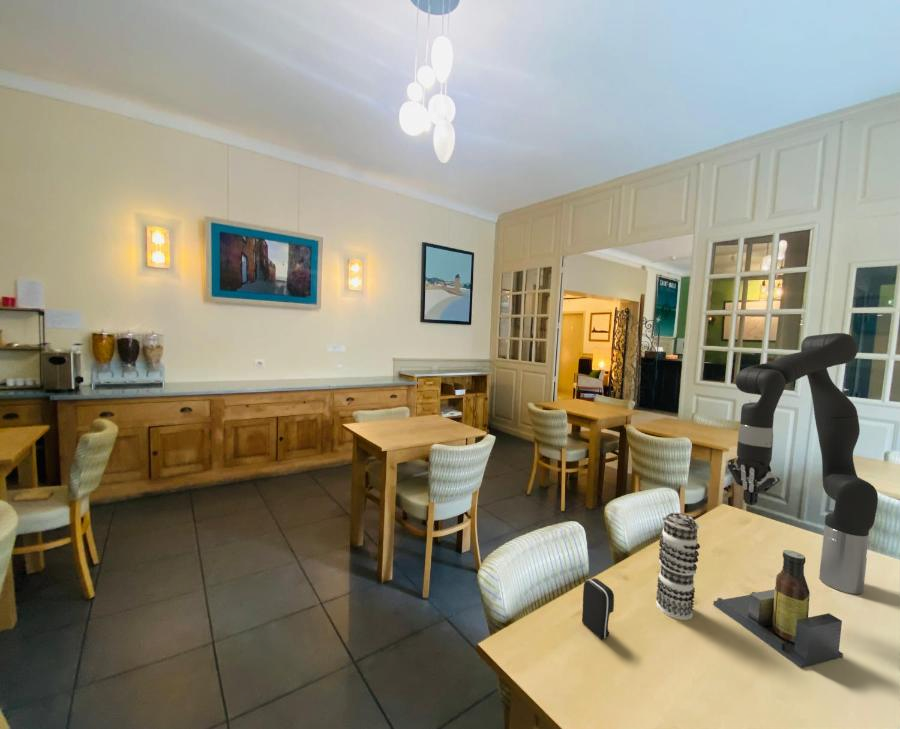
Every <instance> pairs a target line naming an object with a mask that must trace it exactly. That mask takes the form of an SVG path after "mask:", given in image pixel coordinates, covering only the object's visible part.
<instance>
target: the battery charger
mask: <svg viewBox="0 0 900 729" xmlns="http://www.w3.org/2000/svg"><path fill="white" fill-rule="evenodd" d="M582 593H583V594H582V614H581V615H582V617H581V622H582V623H583V624H584V625H585V626H586V627H587V628H588V629H589V630H590V631H592V632H593V633H594V634H595V635H596V636H598V638H600V639H601V640H605V639H606V638H608V637H609V636H610V632H609V621H610V620H609V619H610V615H611V613H613V612H614V610H615V609H614V608H615V607H614V606H615V596H614V592H613V590H612V588H610V587H609V586H608V585H606V584H605V583H604V582H602V581H601V580H599V579H598V578H591V579H586V580H585V581H584V583H583V590H582Z"/></svg>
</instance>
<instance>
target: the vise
mask: <svg viewBox="0 0 900 729" xmlns="http://www.w3.org/2000/svg"><path fill="white" fill-rule="evenodd" d="M751 593H757V592H756V591H752V592H751ZM749 600H750V594H747V595H742V596H737V597H731V598H730V597H729V598H724V599H723V598H722V597H717V600H713V603H712V605H713V606H715V607H716V608H717V609H719V610H720V611H721V612H723V613H725V615H727V616H728V617H730V619H732V620H734V621H736V623H738V625H741V626H742V627H744V628H745V629H746V630H747V631H749V632H750V633H752V634H753V635H755V636H756V637H757V638H759V639H760V640H761V641H763V642H764V643H766V644H767V645H768V646H770V647H771V649H773V650H775V651H776V652H778V653H779V654H781V655H782V656H783V657H785V658H786V659H788V661H790V662H791V663H793V664H794V665H796V666H797V667H798V668H799V669H804V668H808V667H812V666H815V665H819V664H824V663H828V662H832V661H836V660H840V659H843V657H844V653H843V652H841V651H840V645H841V634H842V627H843V626H842V624H843V620H841V619H840V618H837V617H836V616H835V615H833V614H831V613H824V614H819V615H814V616H808V618H804V619H799V620H797V626H796V636H795V643H793V642H790V641H788V640H785V639H783V638H782V637H780V636H779V635H778V634H776V632H775V631H774V629H773V625H768V626H763V627H762V626H761V625H759V624H758V623H756V622H755V621H753V620H752V619H750V618H749V617H748V611H749Z"/></svg>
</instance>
